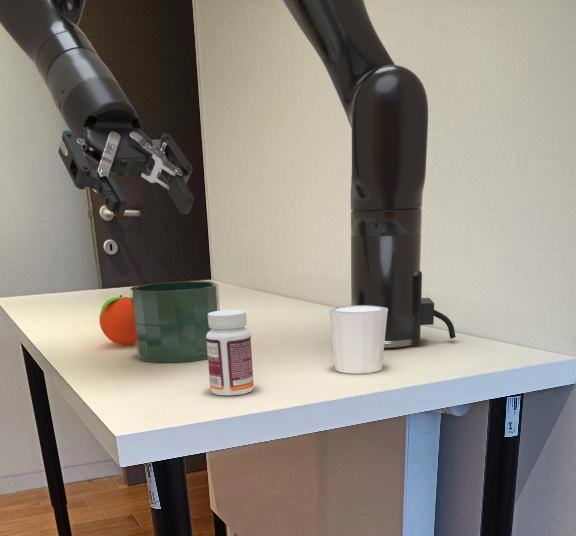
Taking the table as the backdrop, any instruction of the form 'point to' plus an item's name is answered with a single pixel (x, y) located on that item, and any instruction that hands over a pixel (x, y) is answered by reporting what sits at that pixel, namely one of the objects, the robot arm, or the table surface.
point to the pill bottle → (229, 353)
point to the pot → (173, 319)
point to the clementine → (118, 320)
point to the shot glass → (358, 338)
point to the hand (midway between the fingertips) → (156, 209)
